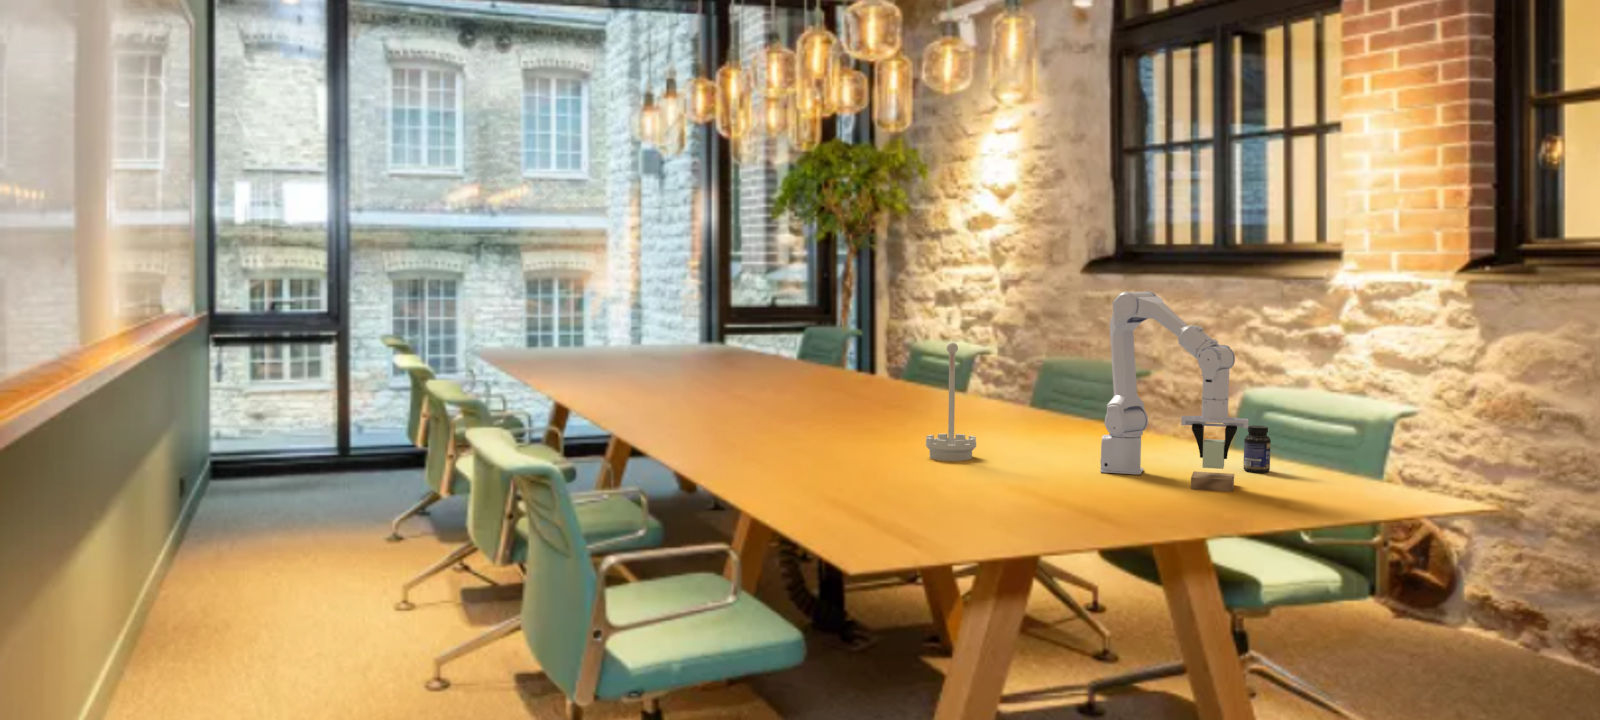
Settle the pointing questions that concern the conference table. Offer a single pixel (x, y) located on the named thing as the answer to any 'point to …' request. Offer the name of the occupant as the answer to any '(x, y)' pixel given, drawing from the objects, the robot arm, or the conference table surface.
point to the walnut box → (1212, 481)
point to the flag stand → (951, 426)
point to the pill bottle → (1257, 450)
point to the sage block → (1213, 453)
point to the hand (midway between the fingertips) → (1213, 457)
